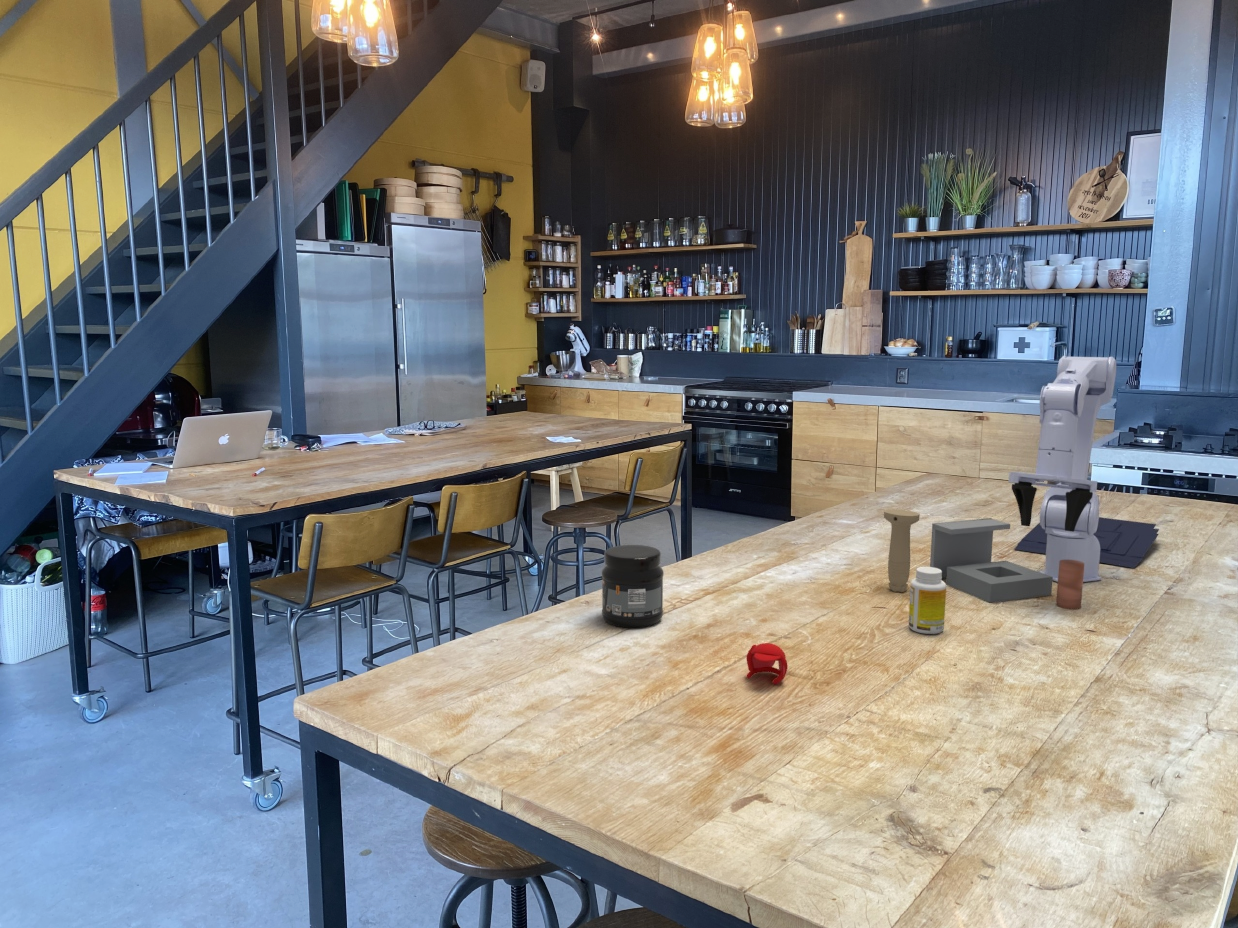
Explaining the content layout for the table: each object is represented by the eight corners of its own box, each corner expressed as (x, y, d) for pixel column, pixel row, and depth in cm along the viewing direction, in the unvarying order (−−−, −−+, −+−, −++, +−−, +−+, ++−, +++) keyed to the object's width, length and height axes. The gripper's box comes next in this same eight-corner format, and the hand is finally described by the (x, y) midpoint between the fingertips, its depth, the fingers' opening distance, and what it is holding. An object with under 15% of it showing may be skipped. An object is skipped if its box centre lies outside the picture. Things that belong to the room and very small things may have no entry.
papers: (1165, 536, 209) (1166, 521, 208) (1135, 580, 187) (1136, 564, 186) (1051, 521, 224) (1052, 507, 223) (1011, 560, 202) (1012, 545, 201)
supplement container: (632, 605, 163) (632, 540, 161) (676, 619, 156) (676, 551, 154) (589, 619, 156) (588, 551, 154) (632, 634, 149) (632, 563, 147)
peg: (1068, 601, 165) (1071, 558, 164) (1086, 608, 162) (1089, 564, 160) (1050, 603, 164) (1054, 560, 163) (1068, 610, 160) (1071, 566, 159)
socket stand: (986, 571, 185) (990, 518, 183) (1051, 594, 169) (1055, 537, 167) (929, 577, 180) (932, 523, 179) (990, 602, 165) (994, 543, 163)
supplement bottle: (951, 632, 149) (954, 571, 148) (925, 637, 147) (929, 576, 145) (926, 622, 154) (929, 563, 153) (901, 626, 152) (904, 567, 150)
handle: (907, 596, 168) (911, 517, 166) (876, 589, 173) (879, 512, 170) (919, 590, 172) (923, 513, 169) (888, 584, 176) (891, 508, 174)
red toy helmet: (743, 669, 134) (744, 633, 133) (781, 670, 134) (782, 634, 133) (749, 690, 126) (750, 652, 126) (789, 690, 126) (790, 652, 125)
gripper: (1023, 446, 156) (1014, 525, 156) (1109, 455, 155) (1100, 534, 155) (1007, 447, 163) (998, 522, 163) (1089, 456, 163) (1080, 532, 162)
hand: (1047, 528), depth 160 cm, fingers open, 7 cm apart
